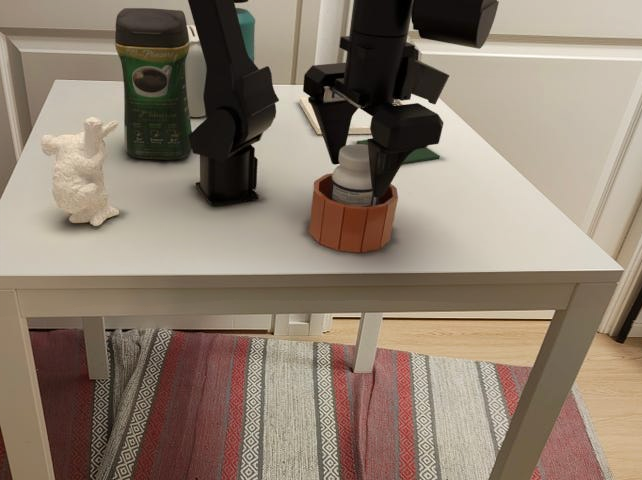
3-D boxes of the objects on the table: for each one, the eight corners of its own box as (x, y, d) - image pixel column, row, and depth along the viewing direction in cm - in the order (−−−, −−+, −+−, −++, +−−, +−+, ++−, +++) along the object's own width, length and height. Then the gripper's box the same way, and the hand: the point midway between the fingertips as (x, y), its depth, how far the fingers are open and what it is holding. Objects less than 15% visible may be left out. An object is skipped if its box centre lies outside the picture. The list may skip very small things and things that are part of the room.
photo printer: (175, 97, 113) (172, 19, 105) (200, 97, 114) (199, 18, 106) (184, 119, 105) (181, 35, 97) (210, 117, 106) (210, 35, 98)
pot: (334, 258, 74) (340, 214, 70) (295, 220, 80) (299, 178, 77) (404, 243, 77) (414, 200, 73) (362, 208, 84) (368, 167, 80)
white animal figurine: (129, 206, 81) (120, 108, 74) (123, 233, 76) (113, 130, 68) (60, 205, 81) (44, 106, 73) (49, 231, 76) (30, 128, 68)
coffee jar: (194, 142, 98) (192, 4, 86) (189, 164, 92) (186, 18, 80) (130, 139, 98) (118, 0, 86) (120, 160, 92) (107, 14, 80)
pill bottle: (342, 216, 82) (353, 137, 75) (381, 231, 79) (396, 151, 73) (316, 232, 78) (325, 151, 72) (356, 249, 76) (369, 166, 69)
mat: (388, 166, 94) (389, 163, 94) (356, 143, 100) (356, 141, 100) (439, 158, 97) (440, 155, 97) (405, 136, 104) (405, 134, 103)
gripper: (506, 50, 61) (464, 204, 71) (394, 5, 74) (372, 141, 84) (407, 58, 57) (377, 220, 67) (307, 10, 70) (295, 152, 80)
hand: (356, 179), depth 74 cm, fingers open, 9 cm apart
